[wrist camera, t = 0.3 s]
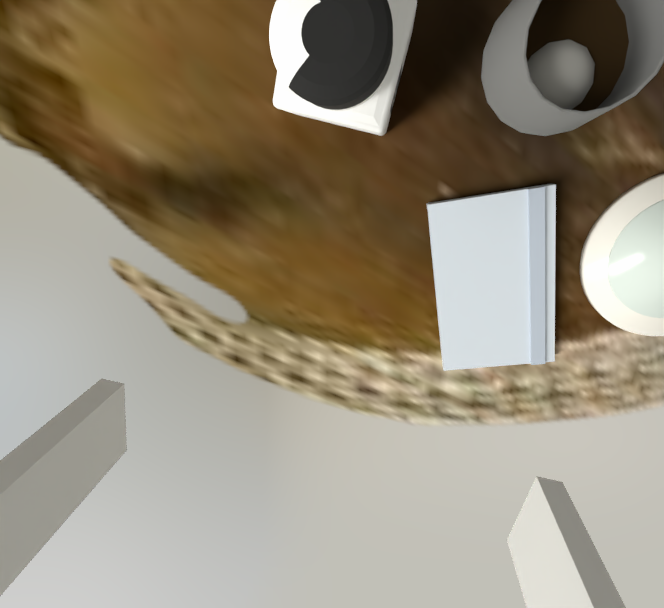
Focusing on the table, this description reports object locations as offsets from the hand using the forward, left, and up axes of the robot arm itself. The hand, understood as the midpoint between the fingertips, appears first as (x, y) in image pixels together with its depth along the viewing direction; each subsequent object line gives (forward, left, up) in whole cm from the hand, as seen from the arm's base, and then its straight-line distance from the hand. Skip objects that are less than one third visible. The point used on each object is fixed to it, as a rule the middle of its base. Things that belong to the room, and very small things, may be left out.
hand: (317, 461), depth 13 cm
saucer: (-1, +25, -27) cm, 37 cm away
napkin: (+2, +11, -27) cm, 29 cm away
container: (-15, -2, -27) cm, 31 cm away
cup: (-15, +12, -27) cm, 33 cm away
